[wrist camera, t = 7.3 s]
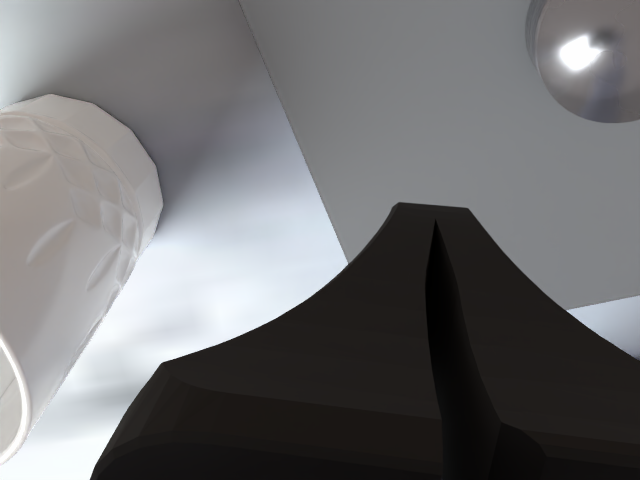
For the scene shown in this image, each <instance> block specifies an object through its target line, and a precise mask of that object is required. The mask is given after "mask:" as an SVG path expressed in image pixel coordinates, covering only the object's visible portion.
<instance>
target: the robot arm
mask: <svg viewBox="0 0 640 480" xmlns="http://www.w3.org/2000/svg"><path fill="white" fill-rule="evenodd" d="M90 480H640V361H639V360H637V359H635V358H634V357H632V356H631V355H629V354H627V353H626V352H624V351H623V350H621V349H620V348H618V347H616V346H615V345H613V344H612V343H610V342H609V341H607V340H605V339H604V338H602V337H601V336H599V335H598V334H597V333H595V332H594V331H592V330H591V329H589V328H588V327H586V326H585V325H584V324H582V323H581V322H580V321H579V320H577V319H576V318H575V317H573V316H572V315H571V314H570V313H568V312H567V311H566V310H564V309H563V308H562V307H561V306H559V305H558V304H557V303H556V302H554V301H553V300H552V299H551V298H550V297H549V296H547V295H546V294H545V293H544V292H543V291H542V290H541V289H540V288H539V287H538V286H537V285H536V284H535V283H533V282H532V281H531V280H530V279H529V278H528V277H527V276H526V275H525V274H524V273H523V272H522V271H521V270H520V269H519V268H518V267H517V266H516V265H515V264H514V263H513V262H512V260H511V259H510V258H509V257H508V256H507V255H506V254H505V253H504V252H503V250H502V249H501V248H500V247H499V246H498V245H497V243H496V242H495V241H494V240H493V238H492V237H491V236H490V235H489V234H488V232H487V231H486V230H485V228H484V227H483V226H482V225H481V223H480V222H479V221H478V220H477V218H476V217H475V216H474V215H473V213H472V212H471V211H470V210H469V208H465V207H453V206H441V205H429V204H417V203H406V202H398V203H397V204H396V205H394V206H393V207H392V209H391V211H390V213H389V215H388V217H387V218H386V220H385V222H384V223H383V224H382V226H381V227H380V229H379V230H378V231H377V233H376V234H375V235H374V236H373V238H372V239H371V240H370V241H369V243H368V244H367V245H366V246H365V247H364V249H363V250H362V251H361V252H360V253H359V254H358V255H357V256H356V257H355V258H354V259H353V260H352V261H351V262H350V263H349V264H348V265H347V266H346V267H345V268H344V269H343V270H342V271H341V272H340V273H339V274H338V275H337V276H336V277H335V278H334V279H332V280H331V281H330V282H329V283H328V284H326V285H325V286H324V287H323V288H322V289H320V290H319V291H318V292H316V293H315V294H314V295H312V296H311V297H310V298H308V299H307V300H305V301H304V302H302V303H301V304H299V305H298V306H296V307H294V308H293V309H291V310H289V311H288V312H286V313H284V314H283V315H281V316H279V317H278V318H276V319H274V320H272V321H270V322H268V323H266V324H264V325H262V326H260V327H258V328H256V329H254V330H252V331H249V332H247V333H245V334H242V335H240V336H238V337H236V338H233V339H231V340H228V341H226V342H223V343H221V344H218V345H215V346H212V347H209V348H206V349H203V350H200V351H197V352H194V353H191V354H188V355H185V356H182V357H179V358H176V359H173V360H169V361H166V362H162V363H161V364H160V365H159V367H158V368H157V370H156V371H155V373H154V374H153V375H152V377H151V378H150V379H149V381H148V382H147V383H146V385H145V386H144V387H143V388H142V389H141V391H140V392H139V394H138V395H137V396H136V398H135V399H134V401H133V402H132V404H131V405H130V406H129V408H128V409H127V411H126V413H125V414H124V416H123V418H122V419H121V421H120V423H119V425H118V426H117V428H116V430H115V432H114V433H113V435H112V437H111V439H110V441H109V442H108V444H107V446H106V448H105V449H104V451H103V453H102V455H101V456H100V458H99V460H98V462H97V463H96V465H95V467H94V470H93V473H92V475H91V478H90Z"/></svg>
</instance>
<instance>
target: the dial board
mask: <svg viewBox="0 0 640 480" xmlns="http://www.w3.org/2000/svg"><path fill="white" fill-rule="evenodd" d="M238 1H239V3H240V6H241V8H242V11H243V13H244V15H245V18H246V20H247V23H248V25H249V27H250V30H251V32H252V35H253V37H254V39H255V42H256V44H257V46H258V49H259V51H260V54H261V56H262V58H263V61H264V63H265V66H266V68H267V70H268V73H269V75H270V78H271V80H272V82H273V85H274V87H275V90H276V92H277V94H278V97H279V99H280V101H281V104H282V106H283V109H284V111H285V113H286V116H287V118H288V121H289V123H290V125H291V128H292V130H293V133H294V135H295V137H296V140H297V142H298V144H299V147H300V149H301V152H302V154H303V156H304V159H305V161H306V164H307V166H308V168H309V171H310V173H311V176H312V178H313V180H314V183H315V185H316V187H317V190H318V192H319V195H320V197H321V199H322V202H323V204H324V207H325V209H326V211H327V214H328V216H329V219H330V221H331V223H332V226H333V228H334V231H335V233H336V235H337V238H338V240H339V242H340V245H341V247H342V250H343V252H344V254H345V257H346V259H347V262H348V264H349V263H350V262H351V261H352V260H353V259H354V258H355V257H356V256H357V255H358V254H359V253H360V252H361V251H362V250H363V249H364V247H365V246H366V245H367V244H368V243H369V241H370V240H371V239H372V238H373V236H374V235H375V234H376V233H377V231H378V230H379V229H380V227H381V226H382V224H383V223H384V222H385V220H386V218H387V217H388V215H389V213H390V211H391V209H392V207H393V206H394V205H396V204H397V203H398V202H406V203H417V204H429V205H441V206H453V207H465V208H469V210H470V211H471V212H472V213H473V215H474V216H475V217H476V218H477V220H478V221H479V222H480V223H481V225H482V226H483V227H484V228H485V230H486V231H487V232H488V234H489V235H490V236H491V237H492V238H493V240H494V241H495V242H496V243H497V245H498V246H499V247H500V248H501V249H502V250H503V252H504V253H505V254H506V255H507V256H508V257H509V258H510V259H511V260H512V262H513V263H514V264H515V265H516V266H517V267H518V268H519V269H520V270H521V271H522V272H523V273H524V274H525V275H526V276H527V277H528V278H529V279H530V280H531V281H532V282H533V283H535V284H536V285H537V286H538V287H539V288H540V289H541V290H542V291H543V292H544V293H545V294H546V295H547V296H549V297H550V298H551V299H552V300H553V301H554V302H556V303H557V304H558V305H559V306H561V307H562V308H563V309H564V310H569V309H574V308H579V307H584V306H589V305H594V304H599V303H604V302H609V301H614V300H619V299H624V298H629V297H634V296H639V295H640V120H636V121H632V122H625V123H601V122H595V121H591V120H587V119H584V118H581V117H579V116H576V115H575V114H573V113H571V112H569V111H568V110H566V109H565V108H564V107H562V106H561V105H560V104H559V103H558V102H557V101H556V100H555V99H554V98H553V97H552V96H551V94H550V93H549V91H548V90H547V88H546V87H545V85H544V83H543V81H542V80H541V78H540V76H539V75H538V73H537V71H536V69H535V68H534V66H533V64H532V62H531V60H530V57H529V54H528V51H527V47H526V41H525V24H526V17H527V12H528V8H529V5H530V3H531V0H238Z"/></svg>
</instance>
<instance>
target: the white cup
mask: <svg viewBox="0 0 640 480" xmlns="http://www.w3.org/2000/svg"><path fill="white" fill-rule="evenodd" d="M163 205H164V204H163V199H162V193H161V188H160V183H159V178H158V173H157V168H156V165H155V164H154V162H153V161H152V159H151V158H150V156H149V155H148V154H147V152H146V151H145V149H144V148H143V146H142V145H141V143H140V142H139V140H138V139H137V137H136V136H135V135H134V133H133V132H132V130H131V129H129V128H128V127H127V126H125V125H124V124H122V123H121V122H119V121H118V120H116V119H115V118H114V117H112V116H111V115H109V114H108V113H106V112H105V111H104V110H102V109H101V108H99V107H98V106H96V105H95V104H93V103H89V102H85V101H80V100H76V99H72V98H67V97H63V96H58V95H54V94H47V95H44V96H40V97H36V98H32V99H29V100H25V101H21V102H17V103H14V104H11V105H9V106H7V107H4V108H2V109H0V466H1V465H2V464H4V463H5V462H7V461H8V460H9V459H11V458H12V457H13V456H14V455H15V454H16V453H17V452H18V451H19V449H20V448H21V447H22V445H23V444H24V442H25V441H26V439H27V437H28V436H29V434H30V433H31V431H32V430H33V428H34V427H35V425H36V423H37V422H38V420H39V419H40V417H41V416H42V414H43V413H44V411H45V410H46V408H47V406H48V405H49V403H50V402H51V400H52V399H53V397H54V396H55V394H56V393H57V391H58V389H59V388H60V386H61V385H62V383H63V382H64V380H65V379H66V377H67V376H68V374H69V373H70V371H71V370H72V368H73V367H74V365H75V363H76V362H77V360H78V359H79V357H80V356H81V354H82V353H83V351H84V350H85V348H86V347H87V345H88V344H89V342H90V341H91V339H92V338H93V336H94V335H95V333H96V331H97V330H98V328H99V327H100V325H101V324H102V322H103V320H104V318H105V317H106V315H107V313H108V311H109V310H110V308H111V306H112V304H113V302H114V301H115V299H116V298H117V296H118V295H119V294H120V292H121V291H122V289H123V287H124V286H125V284H126V282H127V280H128V279H129V277H130V275H131V273H132V271H133V269H134V267H135V264H136V262H137V261H138V259H139V258H140V256H141V255H142V253H143V252H144V250H145V249H146V248H147V246H148V245H149V243H150V242H151V240H152V238H153V237H154V234H155V230H156V227H157V224H158V221H159V218H160V215H161V212H162V208H163Z"/></svg>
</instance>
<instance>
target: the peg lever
mask: <svg viewBox="0 0 640 480" xmlns="http://www.w3.org/2000/svg"><path fill="white" fill-rule="evenodd" d="M525 41H526V47H527V51H528V54H529V57H530V60H531V62H532V64H533V66H534V68H535V69H536V71H537V73H538V75H539V76H540V78H541V80H542V81H543V83H544V85H545V87H546V88H547V90H548V91H549V93H550V94H551V96H552V97H553V98H554V99H555V100H556V101H557V102H558V103H559V104H560V105H561V106H562V107H564V108H565V109H566V110H568V111H569V112H571V113H573V114H575V115H576V116H579V117H581V118H584V119H587V120H591V121H595V122H601V123H625V122H632V121H636V120H640V0H531V3H530V5H529V8H528V12H527V17H526V24H525Z"/></svg>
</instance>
